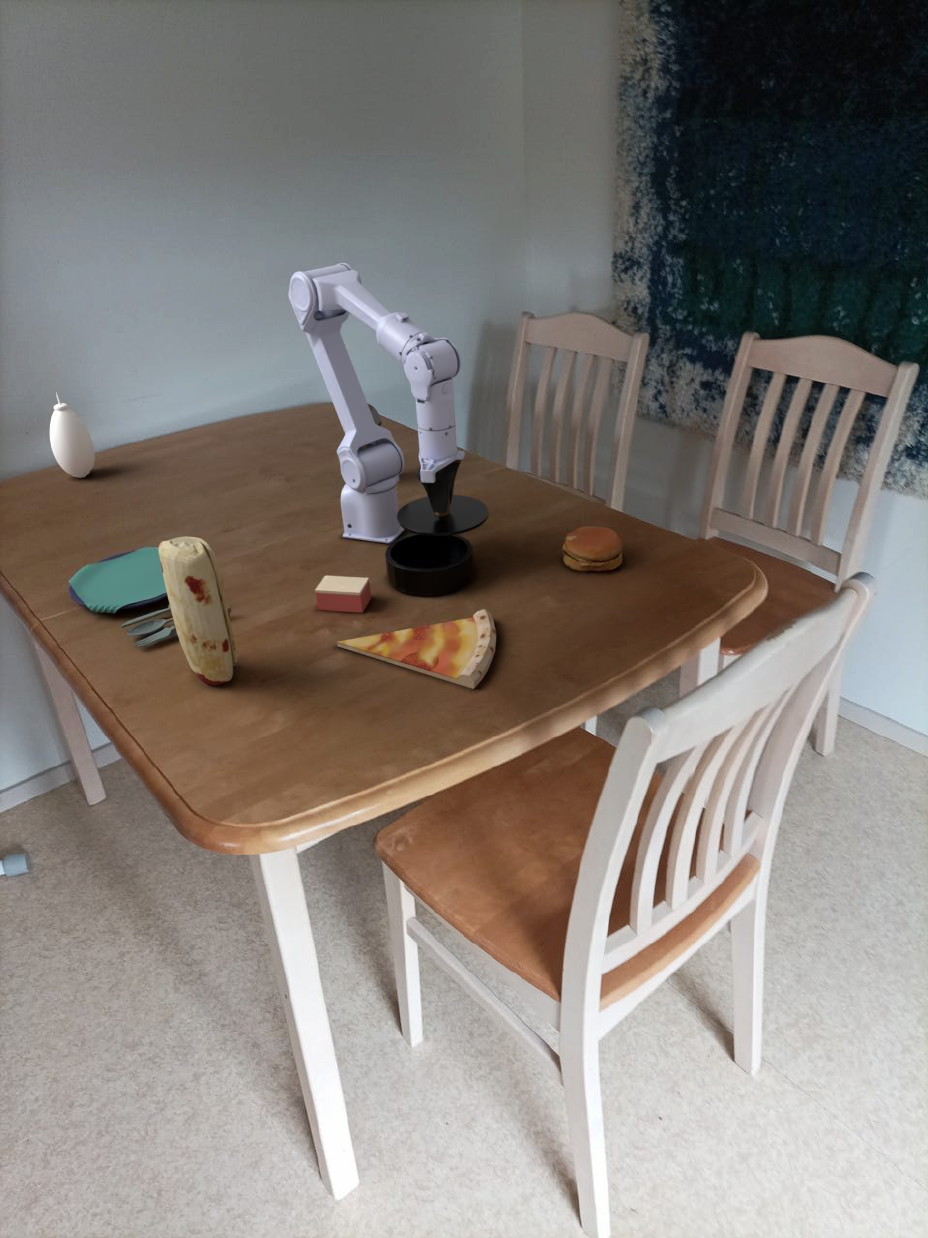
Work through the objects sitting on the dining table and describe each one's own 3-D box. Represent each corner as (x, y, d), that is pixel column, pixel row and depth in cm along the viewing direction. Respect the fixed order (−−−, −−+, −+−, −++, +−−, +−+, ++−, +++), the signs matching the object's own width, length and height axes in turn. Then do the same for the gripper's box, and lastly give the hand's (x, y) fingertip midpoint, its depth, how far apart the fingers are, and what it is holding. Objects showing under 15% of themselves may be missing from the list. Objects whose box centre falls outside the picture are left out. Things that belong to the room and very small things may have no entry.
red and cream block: (318, 610, 131) (314, 589, 129) (328, 595, 135) (325, 575, 133) (362, 612, 130) (359, 592, 128) (371, 597, 133) (368, 577, 132)
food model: (175, 670, 119) (140, 538, 109) (219, 650, 123) (189, 521, 112) (210, 700, 113) (175, 563, 102) (255, 678, 117) (226, 544, 106)
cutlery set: (174, 546, 152) (171, 535, 151) (246, 613, 131) (243, 600, 130) (57, 584, 143) (53, 571, 141) (114, 662, 122) (110, 649, 120)
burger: (632, 567, 137) (634, 540, 135) (579, 579, 135) (579, 552, 133) (604, 542, 145) (605, 516, 143) (553, 553, 143) (552, 527, 141)
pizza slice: (400, 596, 133) (399, 585, 132) (530, 630, 123) (530, 618, 122) (337, 647, 122) (335, 635, 121) (474, 689, 112) (473, 676, 111)
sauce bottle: (86, 466, 189) (62, 383, 179) (108, 473, 185) (84, 388, 175) (54, 478, 183) (27, 394, 174) (75, 485, 179) (49, 399, 170)
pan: (373, 589, 136) (370, 564, 133) (410, 551, 146) (407, 526, 144) (454, 602, 131) (452, 576, 129) (486, 561, 142) (484, 536, 139)
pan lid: (381, 532, 136) (378, 502, 133) (420, 496, 147) (418, 467, 145) (468, 545, 131) (466, 514, 128) (501, 506, 142) (501, 476, 139)
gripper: (451, 442, 124) (456, 528, 131) (472, 409, 136) (476, 490, 143) (403, 440, 125) (411, 526, 133) (428, 408, 137) (434, 488, 145)
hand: (442, 507), depth 138 cm, fingers closed on pan lid, 2 cm apart
